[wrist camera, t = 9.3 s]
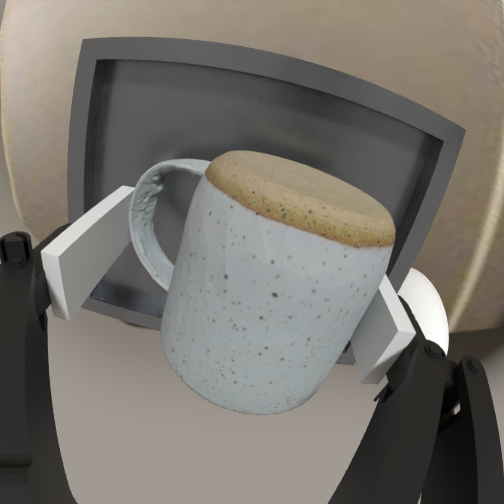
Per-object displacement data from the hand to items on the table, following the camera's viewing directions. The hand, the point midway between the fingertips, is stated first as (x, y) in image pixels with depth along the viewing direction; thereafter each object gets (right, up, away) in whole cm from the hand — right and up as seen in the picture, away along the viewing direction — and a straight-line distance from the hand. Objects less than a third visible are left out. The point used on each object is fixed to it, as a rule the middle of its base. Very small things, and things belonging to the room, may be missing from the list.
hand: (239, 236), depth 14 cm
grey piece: (+1, +8, +14) cm, 16 cm away
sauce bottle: (+17, -4, +20) cm, 27 cm away
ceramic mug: (0, 0, +1) cm, 1 cm away
